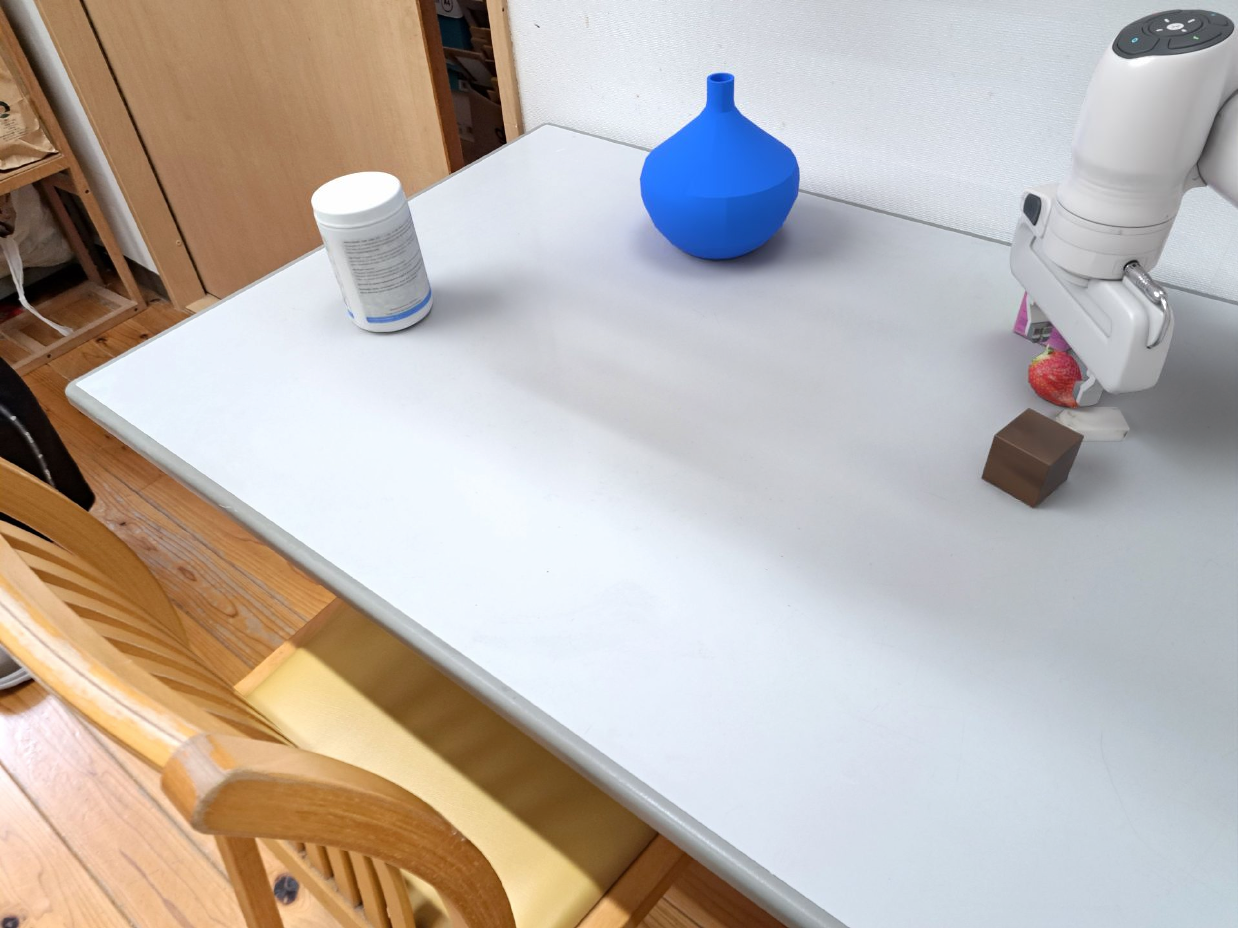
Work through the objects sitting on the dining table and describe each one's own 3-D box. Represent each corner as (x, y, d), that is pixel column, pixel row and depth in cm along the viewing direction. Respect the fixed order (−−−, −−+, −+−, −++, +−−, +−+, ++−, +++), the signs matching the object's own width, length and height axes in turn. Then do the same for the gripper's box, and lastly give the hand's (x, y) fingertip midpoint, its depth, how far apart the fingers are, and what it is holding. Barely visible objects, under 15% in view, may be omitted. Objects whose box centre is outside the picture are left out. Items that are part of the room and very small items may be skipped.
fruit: (1059, 421, 80) (1076, 378, 77) (1010, 386, 84) (1023, 343, 80) (1093, 405, 81) (1111, 362, 78) (1043, 371, 85) (1057, 329, 82)
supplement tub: (450, 297, 102) (422, 176, 92) (403, 343, 96) (367, 220, 85) (382, 282, 105) (347, 164, 95) (332, 326, 99) (289, 205, 89)
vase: (697, 297, 98) (696, 128, 85) (615, 231, 110) (604, 74, 97) (826, 246, 104) (844, 82, 91) (735, 189, 116) (740, 35, 103)
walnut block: (1014, 450, 78) (1028, 407, 74) (1067, 479, 75) (1084, 435, 71) (980, 478, 76) (994, 434, 72) (1033, 508, 73) (1050, 465, 69)
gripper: (1218, 298, 64) (1153, 439, 74) (1083, 173, 79) (1043, 303, 88) (1133, 309, 64) (1079, 448, 74) (1014, 181, 79) (981, 311, 88)
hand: (1058, 368), depth 81 cm, fingers open, 8 cm apart
